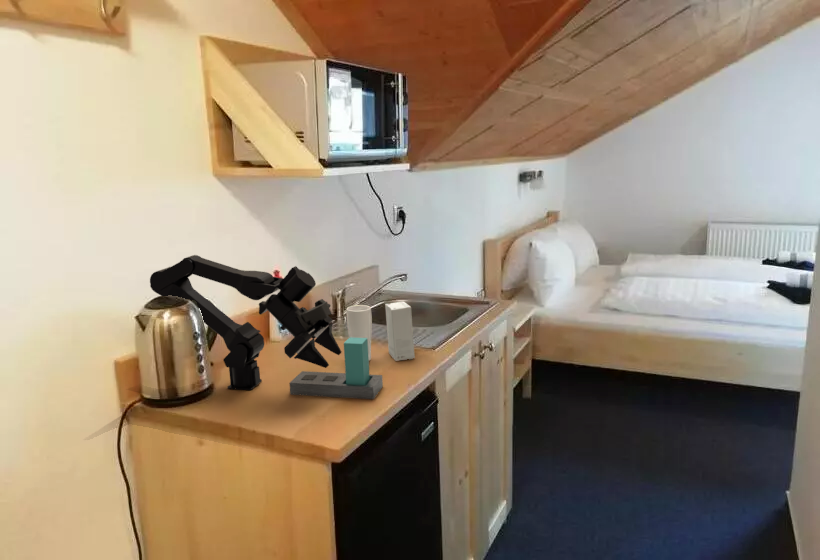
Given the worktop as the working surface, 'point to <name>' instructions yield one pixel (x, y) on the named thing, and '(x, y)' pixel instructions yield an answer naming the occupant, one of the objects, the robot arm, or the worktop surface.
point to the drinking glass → (360, 323)
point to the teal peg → (356, 361)
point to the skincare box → (400, 331)
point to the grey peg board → (333, 385)
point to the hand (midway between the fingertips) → (334, 359)
